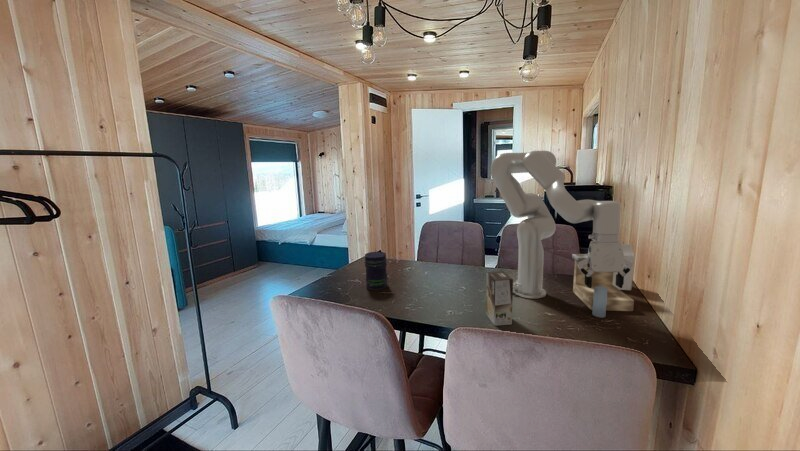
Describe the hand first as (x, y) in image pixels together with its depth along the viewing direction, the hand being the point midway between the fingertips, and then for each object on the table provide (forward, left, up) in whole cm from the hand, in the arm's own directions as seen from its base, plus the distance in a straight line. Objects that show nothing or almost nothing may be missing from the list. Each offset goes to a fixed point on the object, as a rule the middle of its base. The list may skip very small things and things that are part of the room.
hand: (603, 286), depth 114 cm
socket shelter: (+5, +14, -11) cm, 18 cm away
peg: (-1, +1, -11) cm, 11 cm away
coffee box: (-36, -5, -11) cm, 38 cm away
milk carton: (+18, +29, -11) cm, 36 cm away
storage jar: (-86, +25, -11) cm, 90 cm away
